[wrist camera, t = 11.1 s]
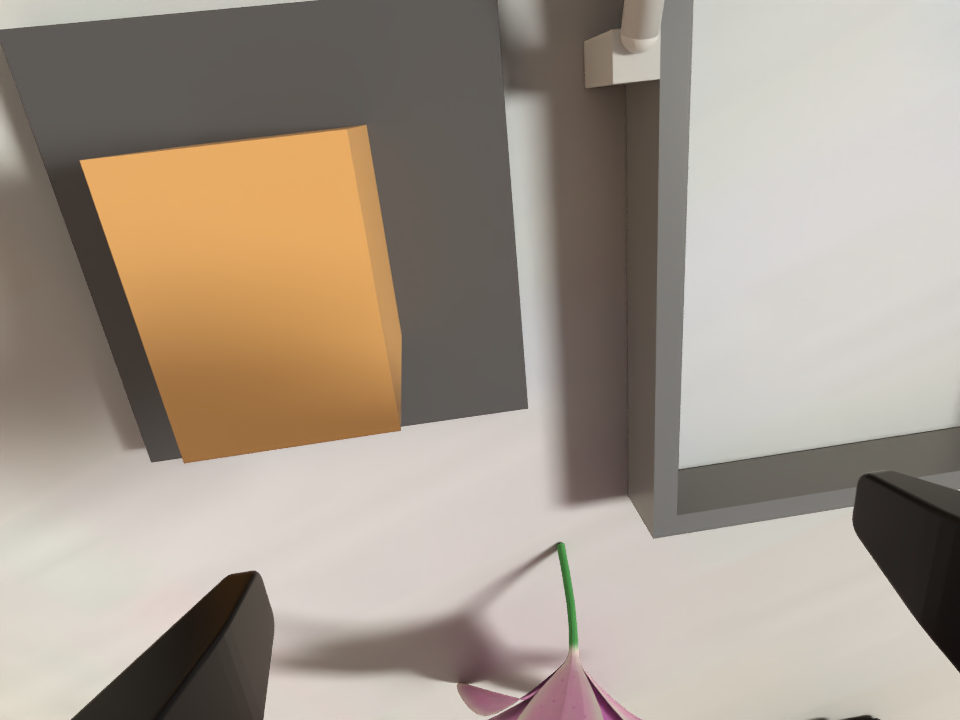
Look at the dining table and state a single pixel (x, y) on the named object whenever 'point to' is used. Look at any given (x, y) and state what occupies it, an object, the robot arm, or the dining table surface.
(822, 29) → the dining table surface
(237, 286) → the block
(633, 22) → the case
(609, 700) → the lily
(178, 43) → the rubber mat
